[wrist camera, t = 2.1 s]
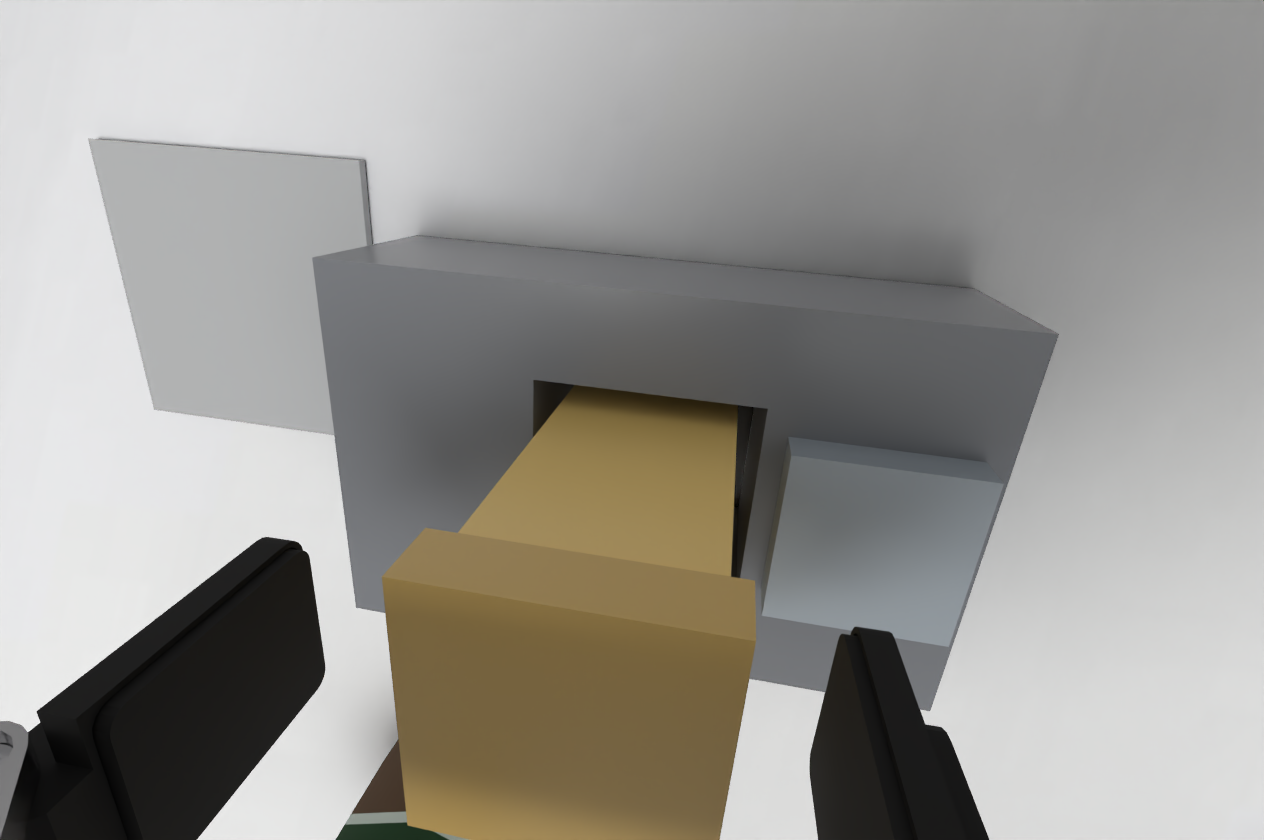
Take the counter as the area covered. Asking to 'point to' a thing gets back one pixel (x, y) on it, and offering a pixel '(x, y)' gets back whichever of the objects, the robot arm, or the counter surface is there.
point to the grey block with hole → (708, 371)
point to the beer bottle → (386, 809)
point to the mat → (230, 273)
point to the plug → (580, 634)
